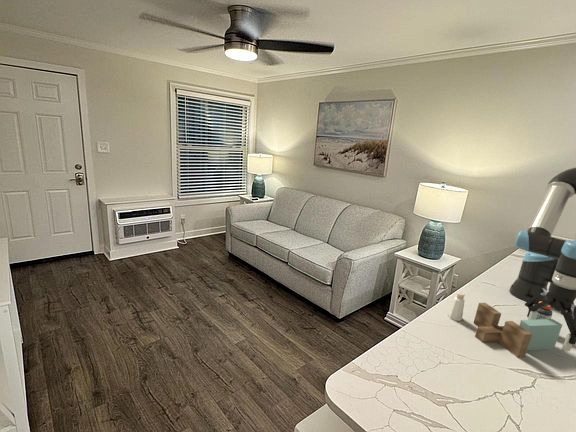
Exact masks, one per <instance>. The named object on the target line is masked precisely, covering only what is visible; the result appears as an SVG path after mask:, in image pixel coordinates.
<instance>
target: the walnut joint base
mask: <svg viewBox="0 0 576 432" xmlns="http://www.w3.org/2000/svg"><path fill="white" fill-rule="evenodd" d="M501 315H502V313H501V312H500V311H498V310H497V309H496V308H494V307H492V306H491V305H490V304H488V303H486V302H478V305H477V309H476V313H475V316H474V320H473V324H475V326H476V327H477V328H476V332H475V335H474V337H475V338H476V339H478V340H479V341H480V342H481V343H496V342H497V343H498V344H500V345H501V346H502V347H503V348H504V349H506V350H508V352H509V353H511V354H512V355H514V356H515V357H516V358H525V356H526V354H527V352H528V350H527V348H528V345H529V342H530V339H531V336H532V334H531V333H530V332H528V331H527V330H525V329H524V328H522V327H521V326H519V325H520V324H518V323H516V322H514V321H513V320H506V321H505V322H504V325H503V326H501V325H499V322H500V319H501Z"/></svg>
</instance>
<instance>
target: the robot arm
mask: <svg viewBox="0 0 576 432" xmlns="http://www.w3.org/2000/svg"><path fill="white" fill-rule="evenodd" d="M545 193H546V194H545V196H544V197H543V199H542V200H541V203H540V205H539V207H538V209H537V212H535V214H534V218H533V219H532V221H531V223H530V225H529V227H528V229H527V230H520V231H519V232H518V233H517V235H516V237H515V243H514V246H515V247H516V249H520V250H523V251H526V253H525V254H524V256H523V258H522V263H521V266H520V270H519V273H518V276H517V278H516V279H515V281H514V282H513V283H512V284H511V286H510V287H509V290H508V291H509V293H510V294H511V295H512V296H514V297H515V298H517V299H519V300H522V301H525V303H524V306H525V307H527V308H528V311H527V314H526V317H527V320H536V317H537V314H538V312H537V311H535V310H538V309H540V308H543V307H546V306H548V305H550V307H551V309H552V308H553V309H555V310H556V311H558V312H560V314H561V315H562V316H563V319H564V321H565V323H566V326H567V329H568V330H569V332H568V333H567V334H566V337H565V339H564V341H563V345H562V347H561V351H563V352H571V349H572V347H573V345H576V304H575V301H576V234H575V235H574V238H573V240H565V239H561V238H557V237H553V236H552V235H553V233H554V231H555V229H556V226H557V224H558V222H559V220H560V218H561V216H562V213H563V211H564V209H565V207H566V205H567V203H568V201H569V199H570V198H572V197H573V196H574V195H576V167H572V168H569V169H566V170H563V171H561V172H559V173H558V174H556V175H555V176H554V177H552V178H551V179H550V181H549V182H548V183H547V185H546V187H545ZM548 285H549V287H548ZM540 301H542V302H541V303H539V302H540Z"/></svg>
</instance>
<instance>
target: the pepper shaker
mask: <svg viewBox="0 0 576 432" xmlns="http://www.w3.org/2000/svg"><path fill="white" fill-rule="evenodd" d="M464 298H465V293H463V292H461V291H457V292H456V295H455V297H454V298H453V301H452V303H451V305H450V308H449V310H448V313H447V317H448V318H449V319H450V320H453V321H455V322H461V321H462V320H463V314H464V308H465V307H464V306H465V299H464Z"/></svg>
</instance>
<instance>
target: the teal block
mask: <svg viewBox="0 0 576 432" xmlns="http://www.w3.org/2000/svg"><path fill="white" fill-rule="evenodd" d="M518 325H519V326H521V327H522V328H524V329H525V330H527V331H528V332H530V333H531V334H532V336H531V339H530V342H529V345H528V348H527V351H534V350H536V351H537V350H553V349H555V347H556V344H557V341H558V338H559V336H560V333H561V330H562V328H563V324H562V323H560V322H559V321H557V320H555V319H554V318H551V319H540V320H528V319H520V323H519V324H518Z"/></svg>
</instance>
